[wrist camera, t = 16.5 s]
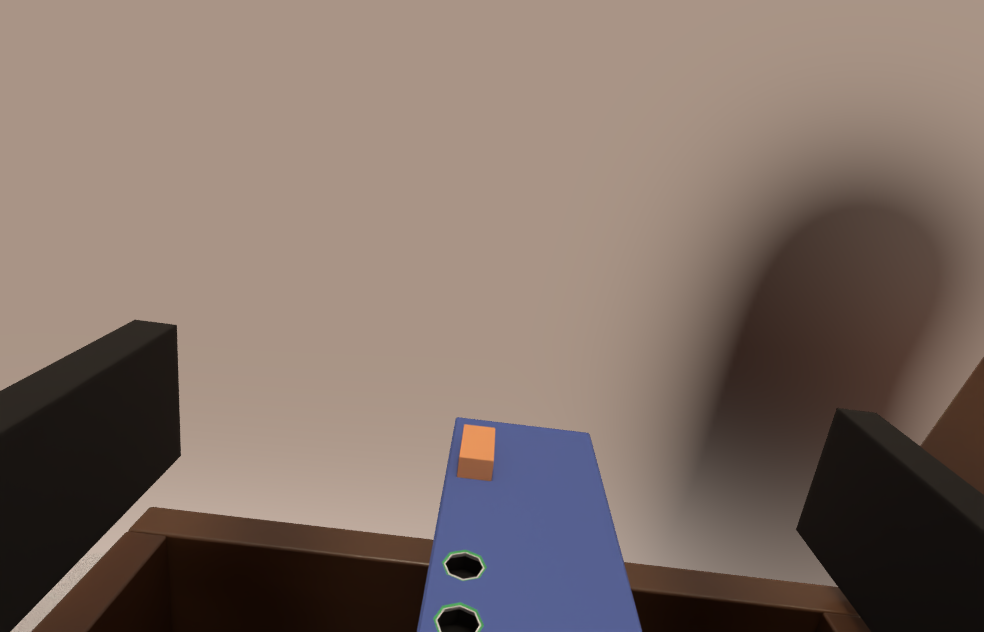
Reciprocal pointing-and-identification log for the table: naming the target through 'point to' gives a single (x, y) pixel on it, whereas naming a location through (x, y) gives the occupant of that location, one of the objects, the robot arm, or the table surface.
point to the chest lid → (962, 432)
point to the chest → (368, 585)
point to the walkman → (524, 537)
